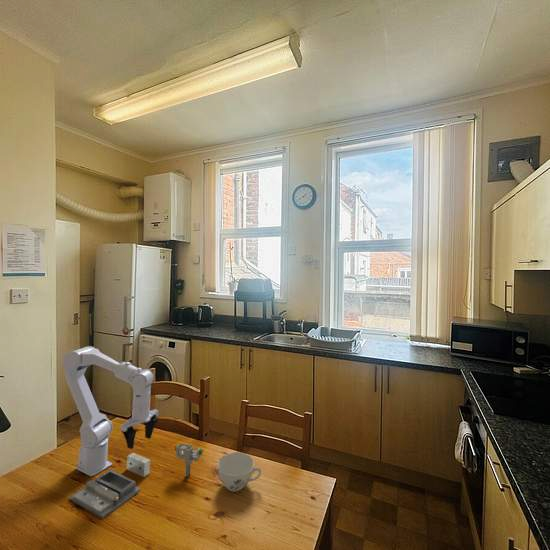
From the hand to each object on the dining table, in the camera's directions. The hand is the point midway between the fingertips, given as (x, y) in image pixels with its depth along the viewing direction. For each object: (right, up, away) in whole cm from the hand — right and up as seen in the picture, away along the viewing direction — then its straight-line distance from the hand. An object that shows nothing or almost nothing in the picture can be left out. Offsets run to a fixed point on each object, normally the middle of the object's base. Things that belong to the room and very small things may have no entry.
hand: (139, 442), depth 107 cm
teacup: (+37, -12, -6) cm, 39 cm away
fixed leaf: (-5, -10, -12) cm, 17 cm away
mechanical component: (+18, -11, -1) cm, 21 cm away
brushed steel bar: (0, -10, 0) cm, 10 cm away
